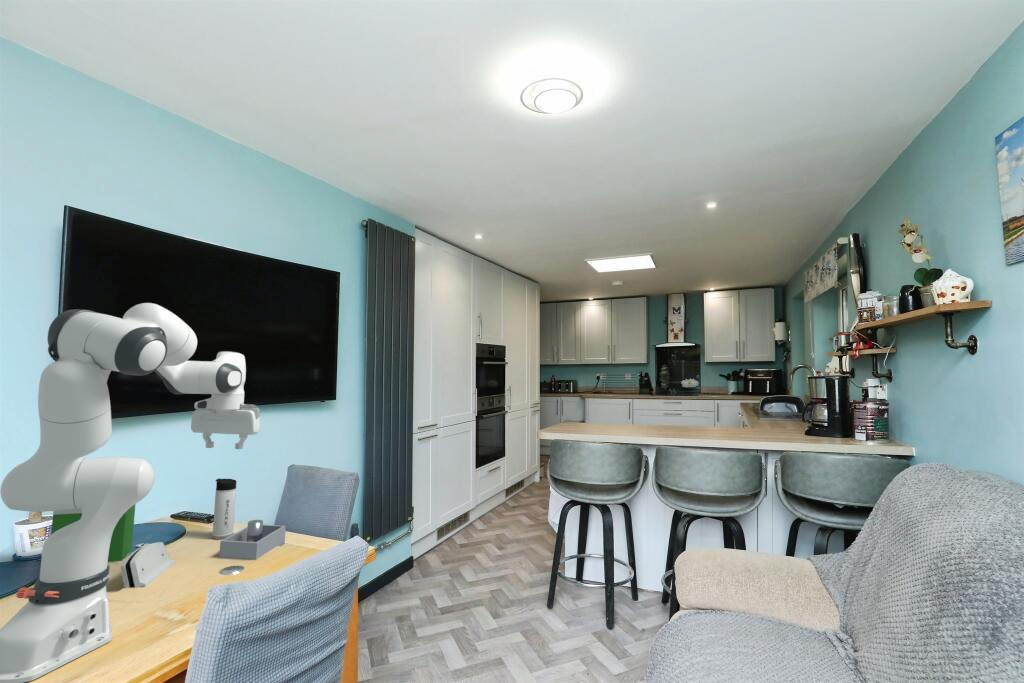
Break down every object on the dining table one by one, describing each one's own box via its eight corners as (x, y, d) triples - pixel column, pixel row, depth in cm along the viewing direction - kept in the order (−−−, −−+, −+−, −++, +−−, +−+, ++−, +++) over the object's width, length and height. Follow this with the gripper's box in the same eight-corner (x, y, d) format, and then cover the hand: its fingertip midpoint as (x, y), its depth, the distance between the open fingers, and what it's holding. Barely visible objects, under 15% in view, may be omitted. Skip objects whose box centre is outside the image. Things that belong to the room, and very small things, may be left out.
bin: (255, 563, 147) (257, 543, 147) (218, 560, 148) (220, 541, 148) (284, 543, 164) (285, 525, 164) (251, 541, 164) (252, 523, 165)
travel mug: (216, 533, 171) (220, 477, 172) (236, 533, 172) (240, 477, 173) (207, 539, 165) (212, 481, 166) (227, 539, 165) (232, 481, 167)
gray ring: (235, 579, 136) (235, 575, 136) (213, 577, 136) (213, 574, 136) (248, 569, 142) (249, 566, 142) (228, 568, 142) (228, 565, 142)
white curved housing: (146, 591, 127) (135, 555, 127) (126, 598, 126) (115, 562, 126) (177, 565, 143) (167, 533, 143) (160, 571, 142) (150, 539, 142)
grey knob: (265, 547, 158) (267, 519, 159) (256, 553, 153) (258, 524, 153) (250, 546, 158) (252, 519, 159) (240, 552, 153) (242, 523, 154)
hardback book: (47, 566, 139) (56, 483, 141) (61, 557, 146) (69, 477, 148) (121, 560, 145) (128, 480, 147) (131, 552, 152) (137, 475, 154)
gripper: (265, 404, 151) (262, 448, 150) (203, 401, 152) (200, 445, 151) (253, 405, 145) (250, 451, 144) (189, 402, 146) (185, 448, 145)
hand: (224, 448), depth 148 cm, fingers open, 8 cm apart
